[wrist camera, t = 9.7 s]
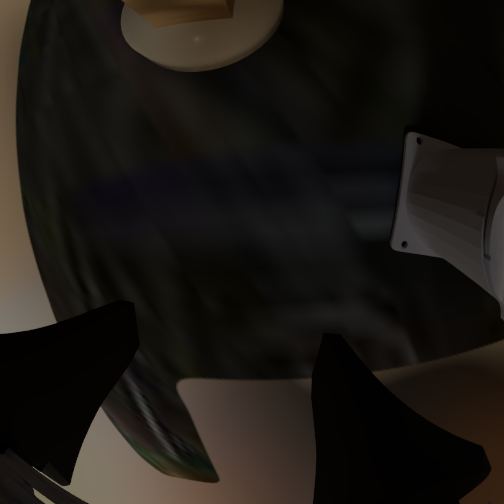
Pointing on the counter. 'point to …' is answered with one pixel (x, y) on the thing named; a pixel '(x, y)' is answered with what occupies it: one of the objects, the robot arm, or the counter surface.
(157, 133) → the counter surface
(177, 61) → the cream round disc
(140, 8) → the oak cube
